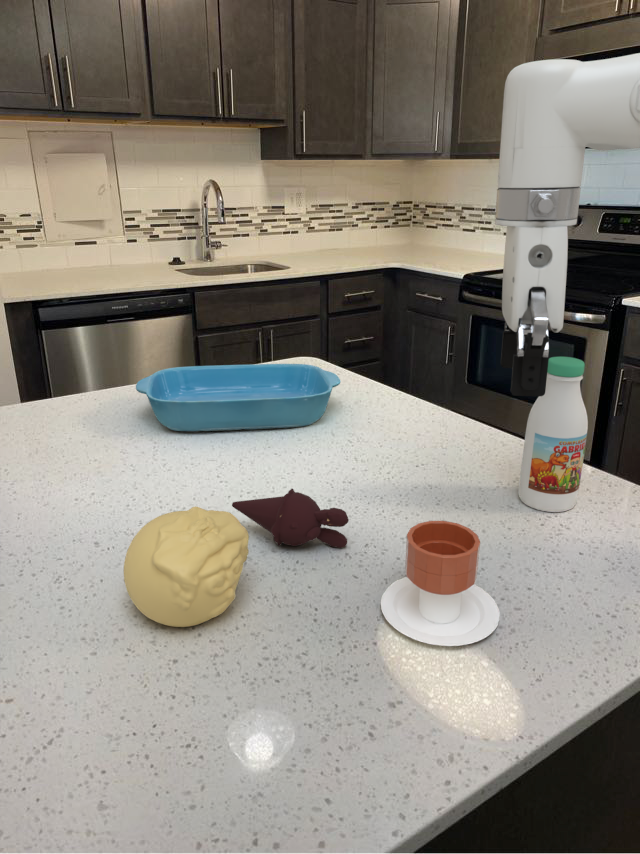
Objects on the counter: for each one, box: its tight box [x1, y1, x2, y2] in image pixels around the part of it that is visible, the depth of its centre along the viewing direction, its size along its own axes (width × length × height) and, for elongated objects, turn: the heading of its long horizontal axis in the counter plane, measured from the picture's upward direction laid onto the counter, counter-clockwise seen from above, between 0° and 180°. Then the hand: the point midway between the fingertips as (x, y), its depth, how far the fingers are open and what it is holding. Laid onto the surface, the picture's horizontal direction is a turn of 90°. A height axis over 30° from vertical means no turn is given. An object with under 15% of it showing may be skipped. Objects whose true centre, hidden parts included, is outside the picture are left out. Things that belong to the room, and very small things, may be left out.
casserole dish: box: [135, 363, 341, 432], centre depth 122 cm, size 37×22×7 cm, turn 99°
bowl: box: [404, 520, 481, 595], centre depth 66 cm, size 7×7×4 cm
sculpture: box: [123, 506, 250, 628], centre depth 67 cm, size 12×12×11 cm
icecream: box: [231, 488, 349, 549], centre depth 80 cm, size 7×7×15 cm
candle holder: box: [380, 576, 501, 647], centre depth 68 cm, size 12×12×4 cm
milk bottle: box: [518, 356, 589, 513], centre depth 88 cm, size 8×8×20 cm
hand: (520, 380), depth 69 cm, fingers open, 9 cm apart
